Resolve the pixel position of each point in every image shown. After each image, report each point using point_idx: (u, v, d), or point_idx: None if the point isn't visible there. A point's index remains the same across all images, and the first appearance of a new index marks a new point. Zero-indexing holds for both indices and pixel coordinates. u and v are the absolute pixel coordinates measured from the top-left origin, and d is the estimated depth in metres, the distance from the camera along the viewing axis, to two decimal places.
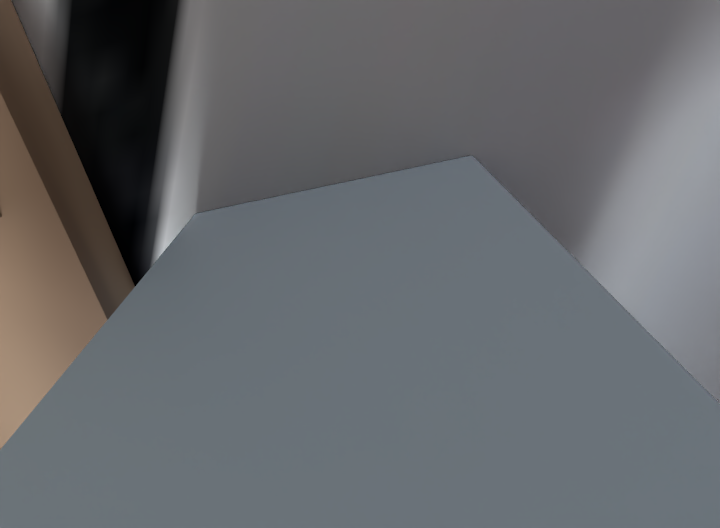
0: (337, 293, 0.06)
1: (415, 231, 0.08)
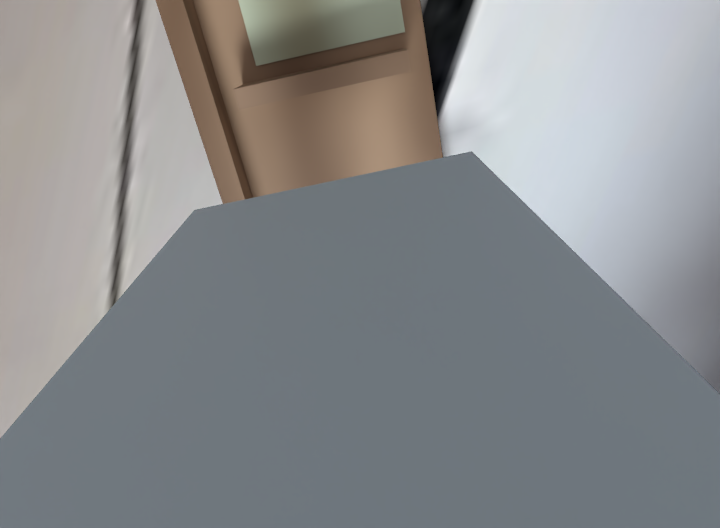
0: (335, 287, 0.06)
1: (415, 227, 0.08)
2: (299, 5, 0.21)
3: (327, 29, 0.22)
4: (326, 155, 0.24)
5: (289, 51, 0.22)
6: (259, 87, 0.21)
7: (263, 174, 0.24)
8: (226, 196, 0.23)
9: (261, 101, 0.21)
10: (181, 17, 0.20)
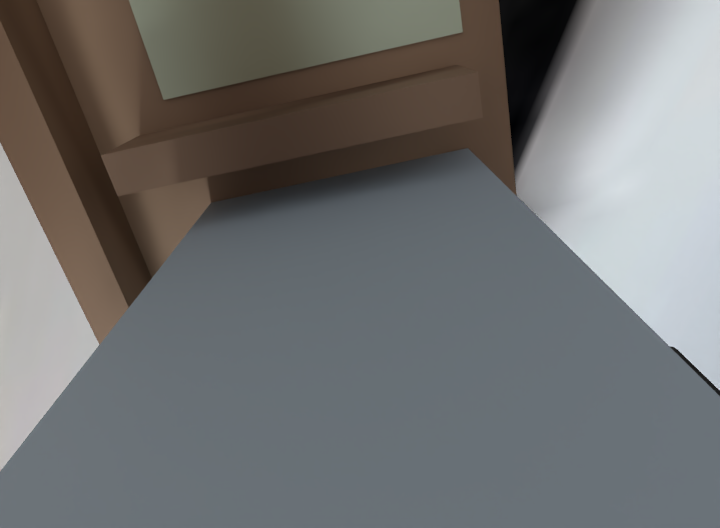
0: (346, 266, 0.07)
1: (415, 214, 0.09)
2: None
3: (304, 26, 0.11)
4: None
5: (229, 71, 0.11)
6: (157, 151, 0.10)
7: None
8: None
9: (163, 179, 0.10)
10: None
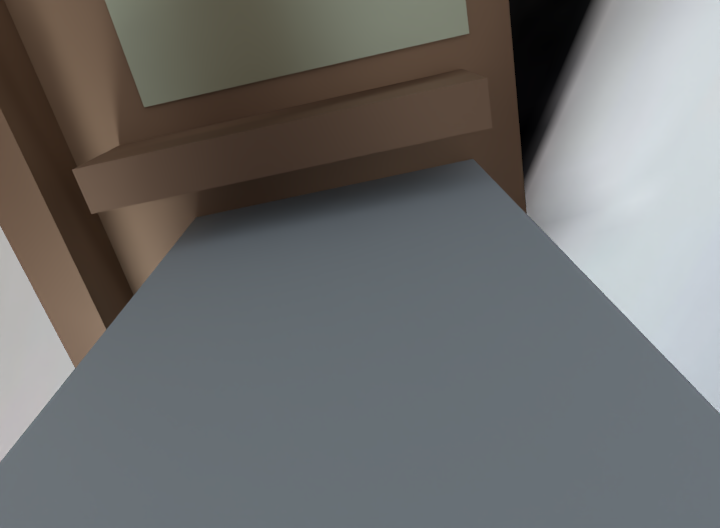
0: (338, 301, 0.06)
1: (416, 238, 0.08)
2: None
3: (297, 27, 0.10)
4: None
5: (214, 76, 0.10)
6: (133, 165, 0.09)
7: None
8: None
9: (141, 195, 0.09)
10: None
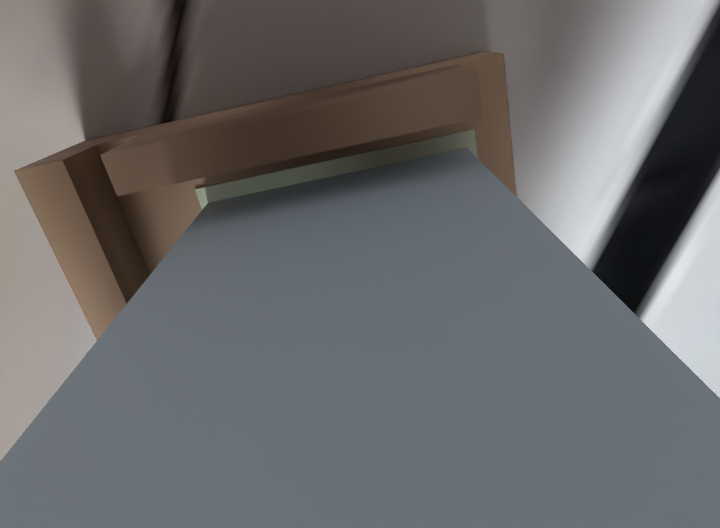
0: (342, 266, 0.07)
1: (413, 214, 0.08)
2: None
3: None
4: None
5: None
6: None
7: None
8: None
9: None
10: None
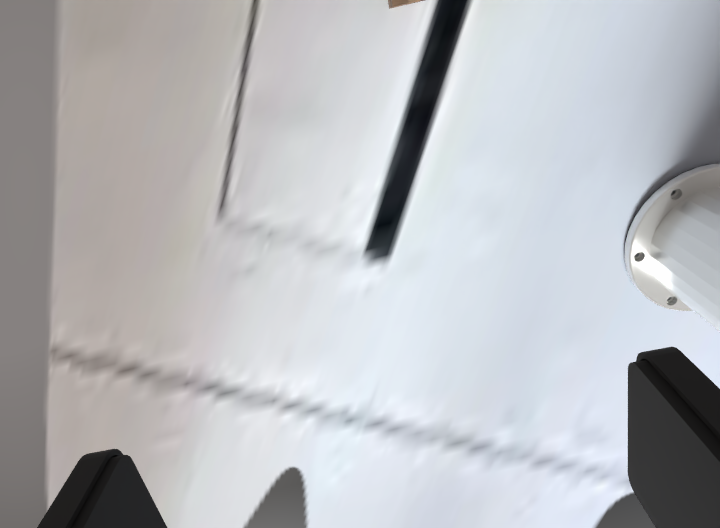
0: None
1: None
2: None
3: None
4: None
5: None
6: None
7: None
8: None
9: None
10: None
